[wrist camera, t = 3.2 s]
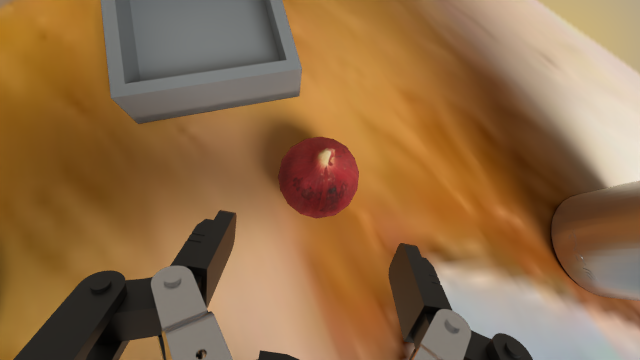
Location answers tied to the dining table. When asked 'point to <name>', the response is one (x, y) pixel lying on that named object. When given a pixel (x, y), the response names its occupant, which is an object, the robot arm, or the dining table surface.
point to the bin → (197, 55)
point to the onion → (318, 177)
